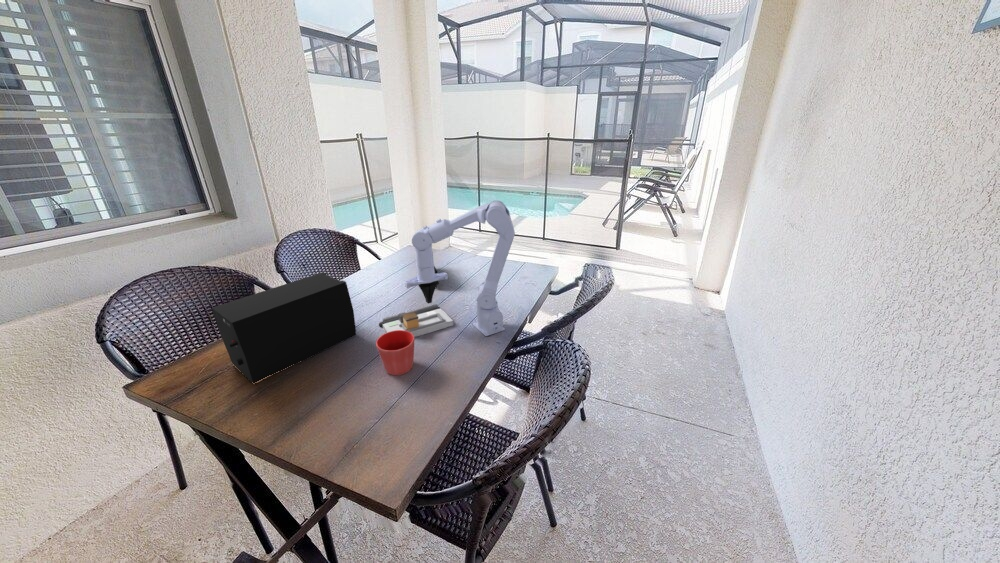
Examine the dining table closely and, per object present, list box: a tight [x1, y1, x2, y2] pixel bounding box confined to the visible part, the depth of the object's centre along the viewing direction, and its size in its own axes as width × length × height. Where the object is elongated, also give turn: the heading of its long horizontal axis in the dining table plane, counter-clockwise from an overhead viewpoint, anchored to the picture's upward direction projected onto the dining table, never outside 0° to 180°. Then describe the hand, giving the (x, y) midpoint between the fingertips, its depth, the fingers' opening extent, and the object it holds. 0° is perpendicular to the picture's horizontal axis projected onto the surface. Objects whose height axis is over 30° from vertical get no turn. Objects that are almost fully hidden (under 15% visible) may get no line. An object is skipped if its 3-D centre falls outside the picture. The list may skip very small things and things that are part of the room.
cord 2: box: [378, 306, 441, 328], centre depth 132 cm, size 2×24×2 cm, turn 123°
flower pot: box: [375, 330, 415, 376], centre depth 104 cm, size 11×11×10 cm
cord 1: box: [382, 304, 439, 322], centre depth 135 cm, size 2×22×2 cm, turn 122°
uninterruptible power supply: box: [211, 272, 357, 383], centre depth 110 cm, size 16×34×20 cm, turn 144°
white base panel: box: [382, 307, 454, 338], centre depth 126 cm, size 11×22×4 cm, turn 122°
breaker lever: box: [402, 312, 419, 330], centre depth 122 cm, size 4×4×4 cm
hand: (428, 302), depth 123 cm, fingers closed
